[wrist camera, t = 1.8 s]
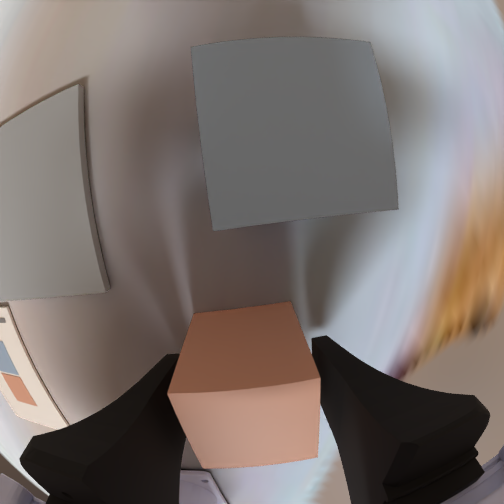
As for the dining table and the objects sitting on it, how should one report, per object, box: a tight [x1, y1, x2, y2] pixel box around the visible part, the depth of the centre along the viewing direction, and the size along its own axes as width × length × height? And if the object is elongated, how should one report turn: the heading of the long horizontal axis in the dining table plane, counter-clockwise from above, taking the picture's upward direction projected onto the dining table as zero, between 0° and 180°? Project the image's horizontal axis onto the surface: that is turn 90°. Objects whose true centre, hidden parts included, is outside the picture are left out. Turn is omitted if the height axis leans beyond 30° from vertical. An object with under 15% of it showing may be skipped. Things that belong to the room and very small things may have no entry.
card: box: [0, 306, 70, 430], centre depth 12 cm, size 10×7×1 cm
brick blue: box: [191, 37, 398, 231], centre depth 7 cm, size 4×4×5 cm
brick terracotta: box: [167, 301, 321, 469], centre depth 9 cm, size 4×4×5 cm
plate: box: [0, 84, 111, 301], centre depth 9 cm, size 9×9×1 cm
